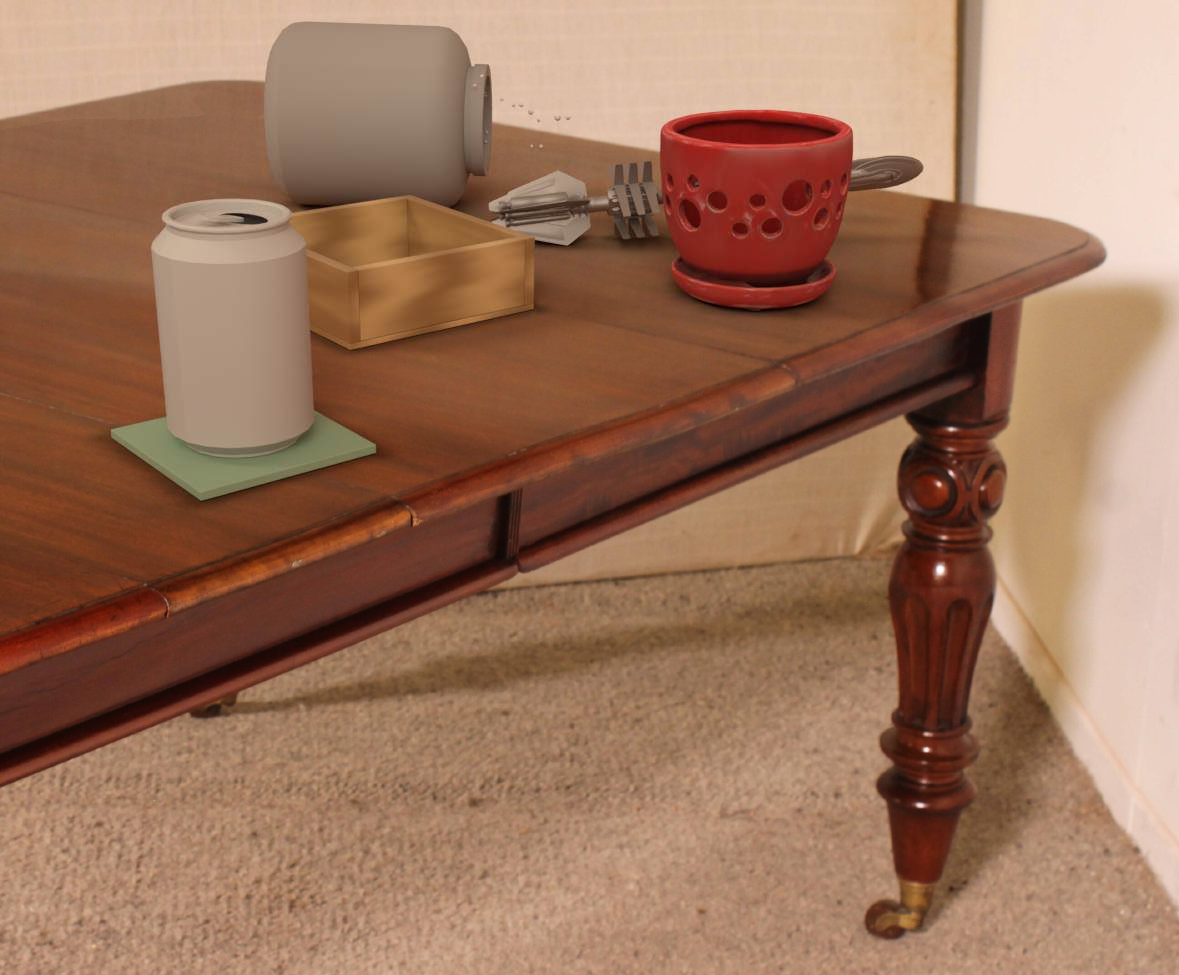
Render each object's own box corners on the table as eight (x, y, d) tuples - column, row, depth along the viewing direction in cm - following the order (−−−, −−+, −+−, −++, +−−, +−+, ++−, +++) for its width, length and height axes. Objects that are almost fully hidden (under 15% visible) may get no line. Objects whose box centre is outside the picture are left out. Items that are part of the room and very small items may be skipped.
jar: (329, 114, 137) (594, 92, 132) (313, 259, 133) (587, 242, 128) (241, -12, 120) (542, -44, 115) (219, 150, 115) (532, 125, 110)
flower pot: (740, 258, 115) (752, 99, 110) (876, 299, 106) (895, 128, 101) (615, 287, 107) (621, 117, 102) (750, 333, 98) (764, 149, 93)
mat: (201, 501, 72) (200, 492, 71) (111, 438, 78) (110, 429, 78) (376, 453, 78) (376, 444, 77) (278, 398, 84) (278, 389, 84)
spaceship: (947, 153, 114) (914, 97, 119) (494, 204, 110) (480, 144, 115) (930, 236, 120) (899, 179, 125) (499, 288, 116) (486, 226, 121)
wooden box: (350, 350, 92) (347, 271, 90) (235, 293, 102) (230, 222, 100) (534, 309, 101) (535, 237, 99) (411, 261, 111) (410, 194, 109)
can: (345, 431, 79) (336, 207, 74) (241, 476, 73) (225, 236, 68) (243, 400, 83) (228, 184, 78) (137, 441, 77) (114, 211, 72)
